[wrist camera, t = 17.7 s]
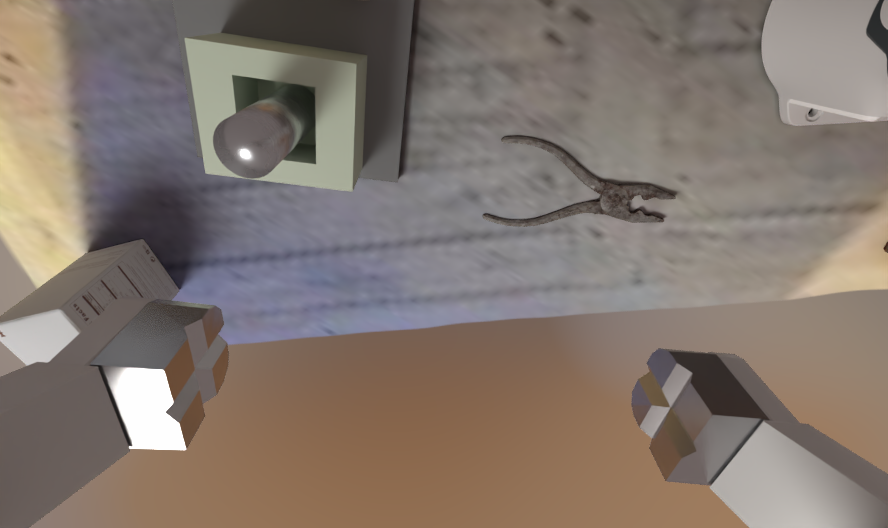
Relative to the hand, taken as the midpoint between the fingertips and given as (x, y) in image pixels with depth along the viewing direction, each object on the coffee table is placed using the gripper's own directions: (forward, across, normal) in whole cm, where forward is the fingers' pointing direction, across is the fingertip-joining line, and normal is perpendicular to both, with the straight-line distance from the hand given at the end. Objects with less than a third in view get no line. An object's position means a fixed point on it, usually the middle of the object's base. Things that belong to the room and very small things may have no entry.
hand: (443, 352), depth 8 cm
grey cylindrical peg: (+33, +12, +4) cm, 35 cm away
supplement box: (+35, +31, +25) cm, 53 cm away
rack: (+34, +12, +4) cm, 36 cm away
